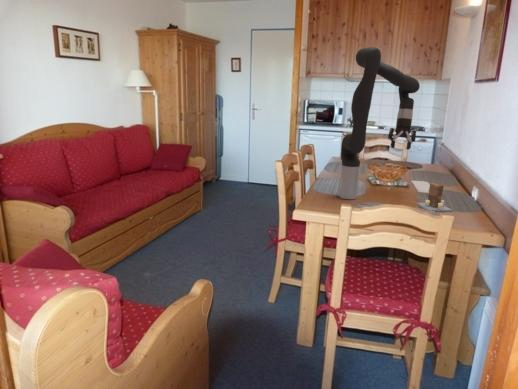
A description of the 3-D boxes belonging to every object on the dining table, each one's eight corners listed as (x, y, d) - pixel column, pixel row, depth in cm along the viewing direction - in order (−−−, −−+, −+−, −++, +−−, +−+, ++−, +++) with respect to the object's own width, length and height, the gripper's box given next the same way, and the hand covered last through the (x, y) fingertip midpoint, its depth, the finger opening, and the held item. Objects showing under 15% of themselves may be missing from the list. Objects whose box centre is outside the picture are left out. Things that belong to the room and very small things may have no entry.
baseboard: (430, 184, 255) (410, 182, 258) (431, 179, 254) (411, 178, 257) (441, 196, 226) (418, 194, 228) (441, 191, 225) (419, 189, 228)
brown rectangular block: (433, 207, 197) (436, 185, 194) (426, 204, 203) (430, 182, 200) (439, 207, 197) (443, 185, 194) (433, 204, 203) (436, 183, 200)
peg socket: (428, 211, 193) (429, 203, 192) (416, 204, 205) (417, 197, 204) (452, 211, 194) (453, 204, 193) (438, 204, 206) (439, 197, 205)
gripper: (395, 116, 208) (390, 147, 210) (420, 119, 210) (416, 150, 212) (388, 117, 216) (384, 147, 218) (413, 119, 218) (409, 149, 220)
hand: (400, 148), depth 215 cm, fingers open, 8 cm apart
